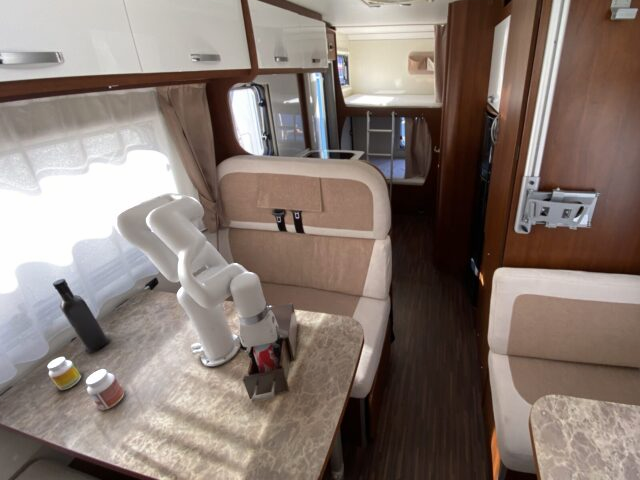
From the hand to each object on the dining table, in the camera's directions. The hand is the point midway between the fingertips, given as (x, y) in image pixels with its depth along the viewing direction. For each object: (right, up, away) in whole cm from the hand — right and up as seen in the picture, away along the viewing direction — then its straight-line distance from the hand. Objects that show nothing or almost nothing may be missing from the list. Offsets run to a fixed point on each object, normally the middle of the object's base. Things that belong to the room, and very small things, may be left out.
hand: (266, 355), depth 94 cm
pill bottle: (-48, -14, 0) cm, 50 cm away
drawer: (+1, -9, +2) cm, 9 cm away
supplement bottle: (-67, -12, +6) cm, 69 cm away
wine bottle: (-71, -7, +20) cm, 74 cm away
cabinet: (-2, -4, +15) cm, 16 cm away
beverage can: (0, -7, +3) cm, 7 cm away
